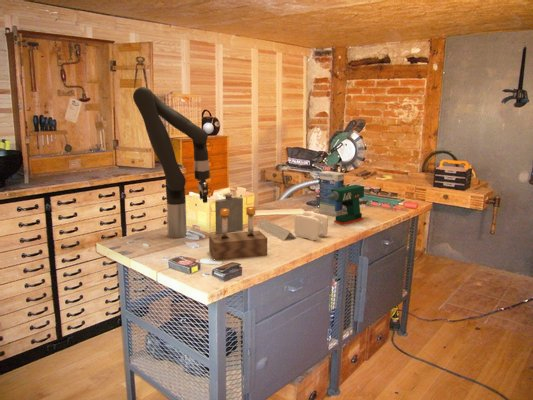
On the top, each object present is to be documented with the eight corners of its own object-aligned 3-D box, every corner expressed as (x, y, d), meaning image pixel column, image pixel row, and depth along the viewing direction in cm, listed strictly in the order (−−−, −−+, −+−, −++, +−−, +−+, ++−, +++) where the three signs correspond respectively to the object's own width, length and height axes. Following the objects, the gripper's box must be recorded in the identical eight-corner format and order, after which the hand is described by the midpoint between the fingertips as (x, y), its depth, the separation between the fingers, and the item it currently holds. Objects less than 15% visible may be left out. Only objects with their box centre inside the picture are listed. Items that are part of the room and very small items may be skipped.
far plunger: (247, 241, 198) (247, 209, 194) (245, 238, 202) (245, 206, 198) (256, 240, 199) (256, 208, 196) (253, 237, 203) (253, 206, 199)
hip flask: (217, 234, 226) (217, 196, 222) (213, 232, 230) (213, 195, 225) (243, 229, 235) (243, 193, 231) (240, 228, 239) (239, 192, 234)
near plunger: (221, 243, 194) (221, 210, 191) (219, 240, 198) (219, 208, 194) (230, 242, 195) (230, 210, 192) (228, 240, 199) (228, 208, 196)
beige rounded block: (292, 235, 227) (293, 214, 224) (304, 231, 234) (305, 210, 232) (316, 242, 217) (317, 219, 214) (328, 237, 225) (329, 215, 222)
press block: (214, 260, 191) (214, 243, 189) (209, 251, 202) (209, 234, 200) (267, 255, 198) (267, 238, 196) (259, 246, 209) (259, 230, 207)
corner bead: (297, 239, 222) (297, 230, 221) (282, 242, 218) (282, 232, 217) (268, 225, 247) (268, 216, 246) (254, 227, 242) (254, 218, 241)
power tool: (327, 229, 238) (329, 193, 233) (318, 226, 243) (319, 191, 238) (363, 219, 258) (365, 186, 254) (354, 217, 263) (355, 184, 259)
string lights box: (342, 214, 269) (345, 173, 263) (335, 217, 263) (338, 174, 257) (324, 210, 277) (326, 170, 271) (317, 213, 272) (319, 171, 266)
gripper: (191, 167, 224) (193, 198, 228) (196, 172, 211) (198, 204, 215) (206, 166, 227) (208, 197, 231) (212, 170, 214) (213, 203, 217)
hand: (203, 200), depth 223 cm, fingers open, 8 cm apart
